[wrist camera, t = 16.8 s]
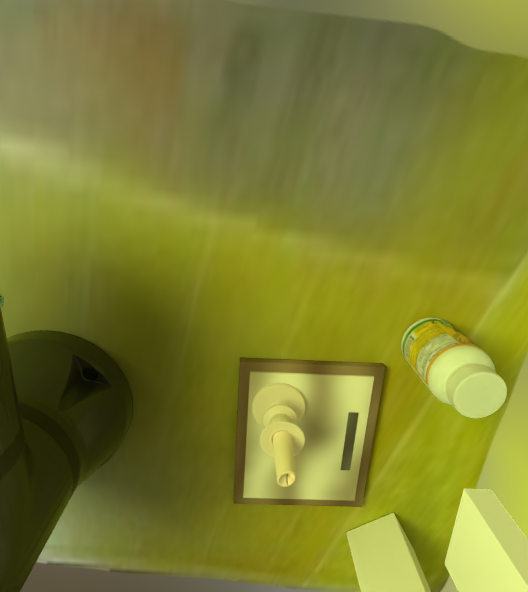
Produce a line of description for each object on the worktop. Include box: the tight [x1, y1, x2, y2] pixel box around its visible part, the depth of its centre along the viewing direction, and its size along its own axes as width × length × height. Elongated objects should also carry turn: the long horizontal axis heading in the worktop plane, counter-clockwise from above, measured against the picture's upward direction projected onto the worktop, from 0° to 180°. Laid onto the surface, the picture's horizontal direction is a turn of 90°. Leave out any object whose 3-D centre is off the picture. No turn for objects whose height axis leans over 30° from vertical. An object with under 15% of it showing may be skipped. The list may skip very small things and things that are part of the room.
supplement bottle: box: [401, 318, 507, 418], centre depth 35 cm, size 5×5×10 cm
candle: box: [252, 383, 305, 487], centre depth 35 cm, size 5×5×10 cm
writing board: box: [234, 358, 385, 507], centre depth 41 cm, size 14×17×1 cm
